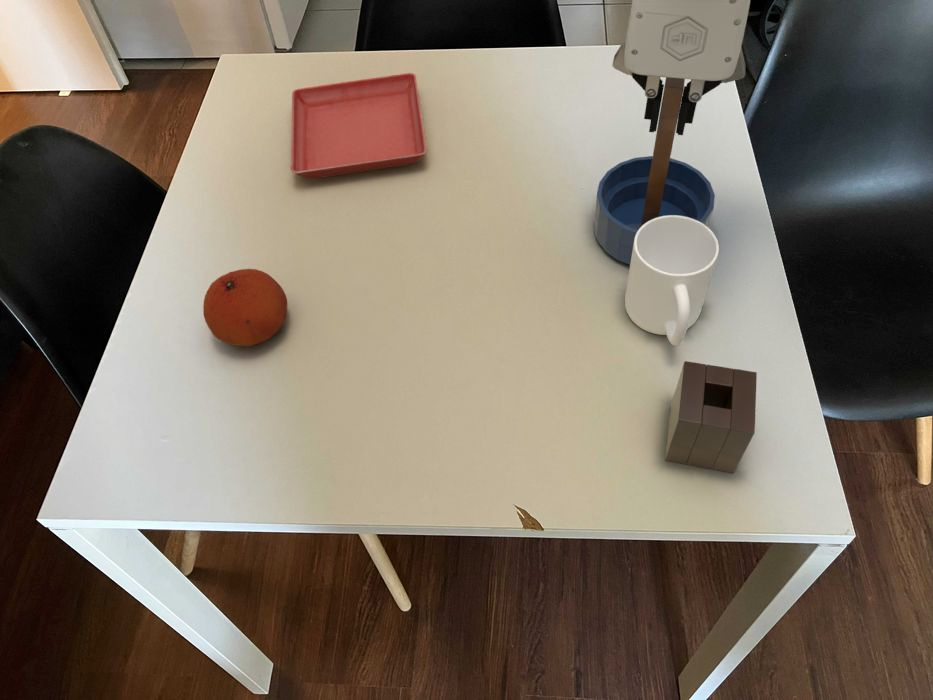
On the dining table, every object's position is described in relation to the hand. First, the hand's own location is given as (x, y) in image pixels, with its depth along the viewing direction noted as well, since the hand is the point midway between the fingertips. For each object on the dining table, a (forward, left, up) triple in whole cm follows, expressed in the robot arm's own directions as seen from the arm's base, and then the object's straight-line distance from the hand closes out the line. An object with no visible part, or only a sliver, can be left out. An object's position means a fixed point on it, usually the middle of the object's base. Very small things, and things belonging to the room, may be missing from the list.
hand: (667, 124), depth 74 cm
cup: (-3, +13, -16) cm, 21 cm away
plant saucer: (+41, -11, -16) cm, 45 cm away
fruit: (+42, +23, -16) cm, 50 cm away
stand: (-8, +27, -16) cm, 32 cm away
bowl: (0, 0, -16) cm, 16 cm away
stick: (0, 0, -15) cm, 15 cm away
